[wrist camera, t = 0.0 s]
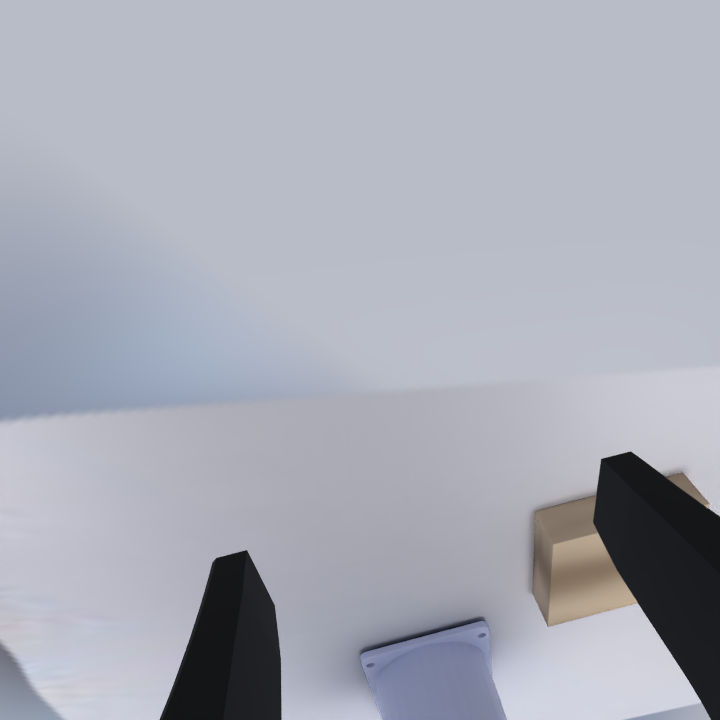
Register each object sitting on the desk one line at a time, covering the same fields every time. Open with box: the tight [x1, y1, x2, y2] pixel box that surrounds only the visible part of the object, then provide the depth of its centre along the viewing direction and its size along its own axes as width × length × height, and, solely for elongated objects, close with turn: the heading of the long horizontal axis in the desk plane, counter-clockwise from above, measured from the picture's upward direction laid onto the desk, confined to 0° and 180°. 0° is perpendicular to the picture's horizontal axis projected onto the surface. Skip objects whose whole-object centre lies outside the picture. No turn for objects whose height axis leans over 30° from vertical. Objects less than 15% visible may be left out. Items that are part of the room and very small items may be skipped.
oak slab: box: [533, 473, 710, 627], centre depth 30 cm, size 8×8×2 cm
